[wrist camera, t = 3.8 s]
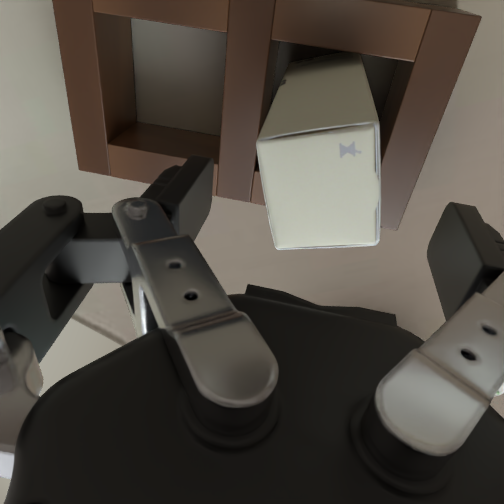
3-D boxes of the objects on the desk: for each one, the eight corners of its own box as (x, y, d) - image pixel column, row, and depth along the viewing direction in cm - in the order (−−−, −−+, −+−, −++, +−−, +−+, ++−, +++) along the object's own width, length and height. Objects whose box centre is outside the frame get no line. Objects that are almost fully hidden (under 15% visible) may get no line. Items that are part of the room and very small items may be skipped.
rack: (110, 145, 29) (78, 170, 26) (90, -46, 23) (44, -48, 19) (389, 197, 28) (397, 231, 24) (457, 8, 21) (482, 16, 17)
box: (287, 60, 24) (248, 129, 14) (362, 48, 23) (382, 112, 13) (297, 145, 27) (271, 254, 17) (364, 137, 26) (382, 249, 15)
